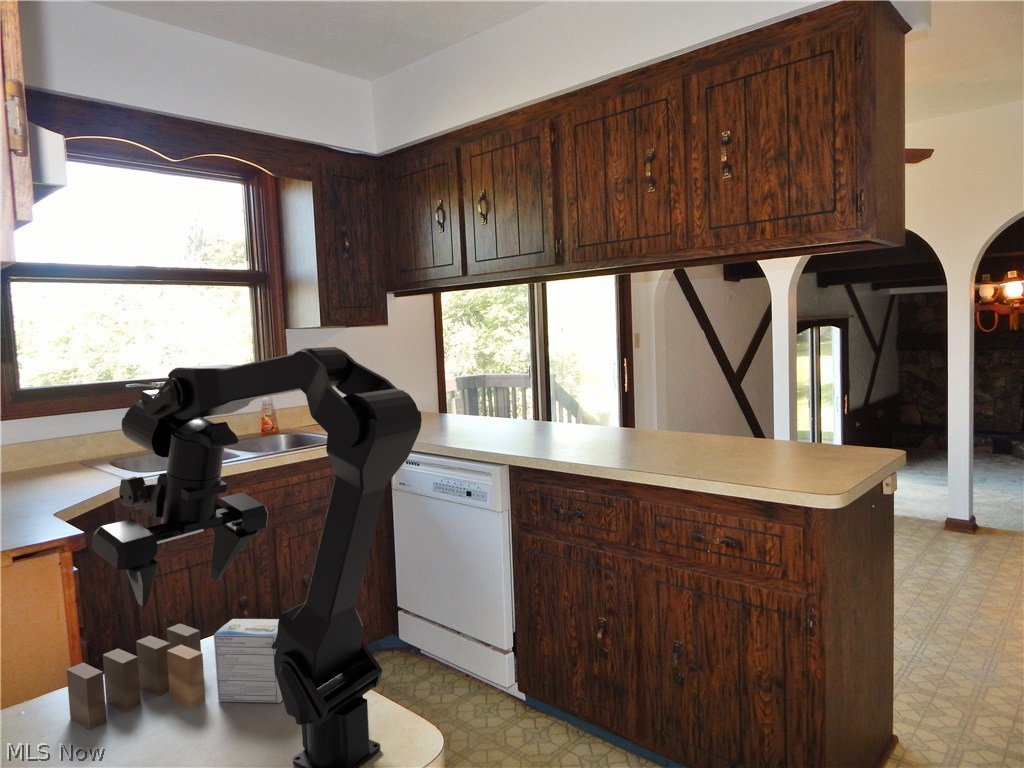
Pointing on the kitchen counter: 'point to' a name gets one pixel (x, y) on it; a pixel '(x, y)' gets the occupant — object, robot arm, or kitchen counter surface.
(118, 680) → the domino
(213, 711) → the kitchen counter surface
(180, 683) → the domino
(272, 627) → the medicine box
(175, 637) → the domino
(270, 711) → the kitchen counter surface
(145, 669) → the domino
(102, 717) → the domino
